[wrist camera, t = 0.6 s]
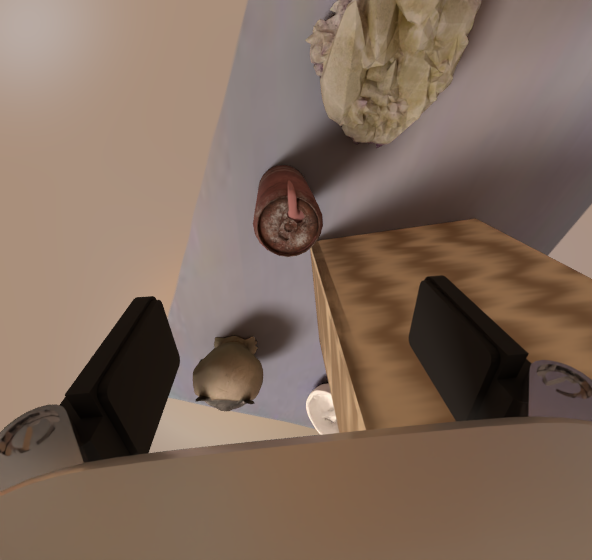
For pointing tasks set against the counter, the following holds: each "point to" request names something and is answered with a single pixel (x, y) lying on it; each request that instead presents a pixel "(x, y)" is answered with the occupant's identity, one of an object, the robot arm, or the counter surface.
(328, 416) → the skull bowl
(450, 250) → the zigzag grain wooden box
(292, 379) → the counter surface
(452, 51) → the geode
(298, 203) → the can
